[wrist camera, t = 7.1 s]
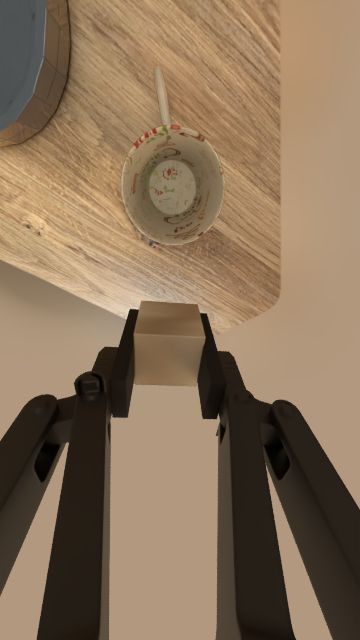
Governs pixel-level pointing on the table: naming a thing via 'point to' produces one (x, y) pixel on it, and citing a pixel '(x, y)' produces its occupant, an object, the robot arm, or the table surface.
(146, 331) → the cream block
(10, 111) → the bowl
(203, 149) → the mug
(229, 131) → the table surface
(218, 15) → the table surface
